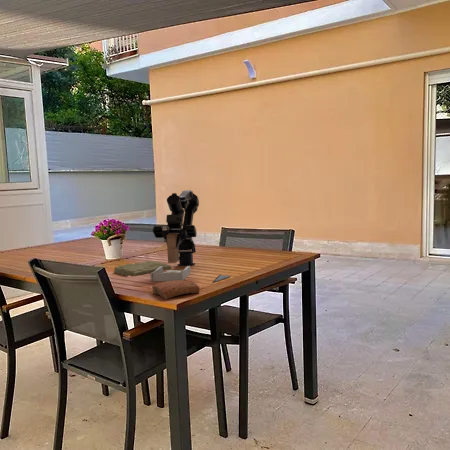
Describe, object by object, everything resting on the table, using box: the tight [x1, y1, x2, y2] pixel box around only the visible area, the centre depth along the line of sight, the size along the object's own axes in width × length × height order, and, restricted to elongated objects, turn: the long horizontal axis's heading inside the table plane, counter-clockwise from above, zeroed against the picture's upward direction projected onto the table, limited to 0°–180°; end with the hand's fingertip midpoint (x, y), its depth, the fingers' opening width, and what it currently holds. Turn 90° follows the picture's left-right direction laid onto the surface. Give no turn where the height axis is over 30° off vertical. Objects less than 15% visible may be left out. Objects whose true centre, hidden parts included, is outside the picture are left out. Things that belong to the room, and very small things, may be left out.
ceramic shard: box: [151, 280, 201, 301], centre depth 164 cm, size 15×6×15 cm
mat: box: [211, 274, 231, 284], centre depth 186 cm, size 12×12×1 cm
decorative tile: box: [113, 260, 172, 277], centre depth 206 cm, size 19×20×4 cm
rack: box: [149, 265, 191, 282], centre depth 187 cm, size 15×13×4 cm
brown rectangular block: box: [166, 233, 179, 264], centre depth 192 cm, size 6×4×12 cm, turn 173°
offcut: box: [164, 269, 183, 273], centre depth 192 cm, size 5×6×2 cm
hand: (172, 247), depth 190 cm, fingers closed on brown rectangular block, 3 cm apart
